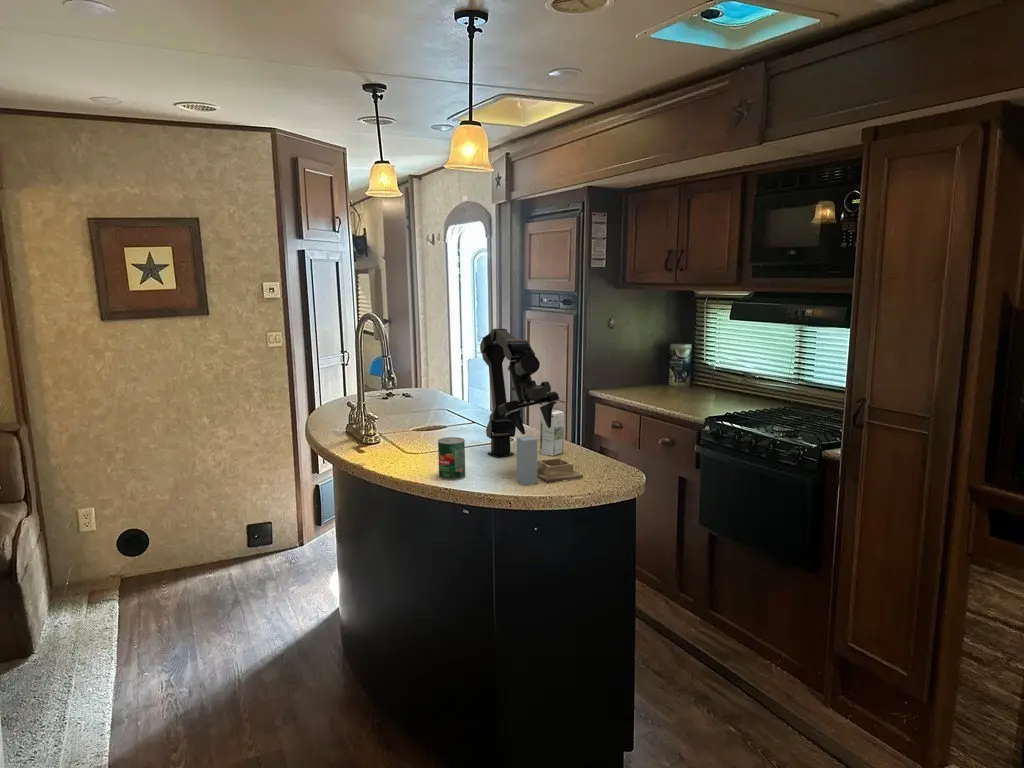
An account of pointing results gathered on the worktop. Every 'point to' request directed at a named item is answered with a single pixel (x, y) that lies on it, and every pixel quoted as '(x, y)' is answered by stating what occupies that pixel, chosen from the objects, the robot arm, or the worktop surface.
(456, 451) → the canned tomato
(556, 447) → the syrup box
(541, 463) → the pocket board
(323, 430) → the worktop surface
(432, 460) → the worktop surface
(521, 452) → the slate peg
